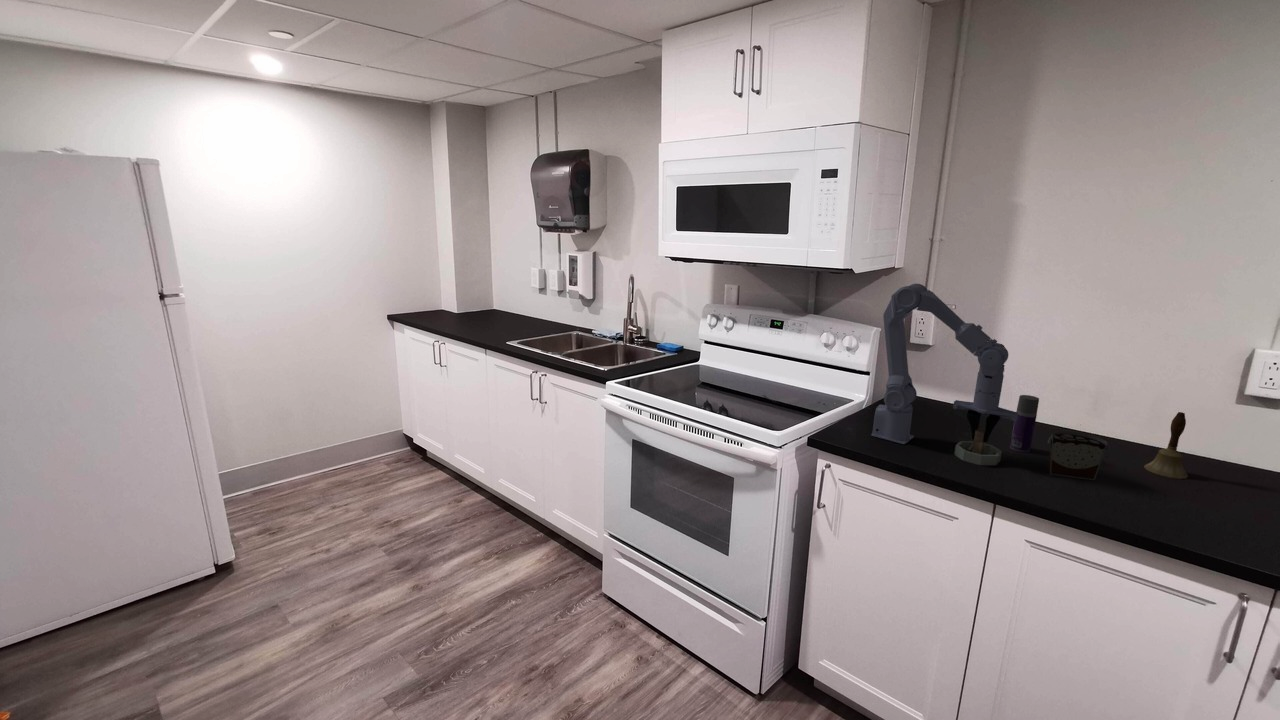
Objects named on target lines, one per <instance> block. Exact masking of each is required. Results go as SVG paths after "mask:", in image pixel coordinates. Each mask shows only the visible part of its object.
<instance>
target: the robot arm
mask: <svg viewBox="0 0 1280 720" xmlns="http://www.w3.org/2000/svg"><path fill="white" fill-rule="evenodd" d="M915 309H916V311H917V312H918V311H919V312H927V313H931V314H932V315H933V316H934V317H936V318H937V319H938V320H939V321H941V322H942V323H943V324H944V325H946V327H948V328H949V329H951V330H952V331H953V332H954V337H955V340H956V341H957V342H958V343H960V345H962V346H963V347H964V348H965V349H967V350H968V351H969V352H970V353H971V354H972V355H973V356H974V357H977V362H978V364H979V368H978V369H979V370H978V372H977V377H976V378H977V379H976V383H975V389H974V396H973V400H972V401H965V400H959V399H958V400H957V399H955V400H954V401H953V406H952V409H954V410H958V409H959V410H962V411H967V412H966V418H967V421H968V423H969V425H970V430H971V440H972V441H974V437H975V431H976V430H977V429H978V428H979V426H980V420H981V416H982V415H987V417H986V418H985V428H984V429H985V434H984V440H983V442H986V443H987V442H988V441H989V438H990V436H991V434H992V431H993V430H994V428H995V426H997V424H998V423H999V421H1000V420H1001V419H1006V420H1010V421H1012V422H1015V421H1016V420H1017V419H1018V412H1016V411H1013V410H1010V409H1006V408H1002V407H999V405H1000V400H1001V394H1002V388H1003V381H1004V378H1005V376H1004V375H1005V374H1004V373H1005V363H1006V362H1007V360H1008V359H1009V351H1008V349H1007V348H1006V347H1005V345H1004V344H1002V343H999V342H998V340H997V339H995V338H994V339H993V338H991V336H989V335H988V334H987V333H985V332H984V331H983V326H982V325H980V324H977V325H976V324H975V323H974V322H965V321H964V320H963V319H962V318H961V317H959V316H958V315H957V313H956V312H954V311H953V309H951V308H950V307H949V306H948V305H947V304H946V303H945V302H944V301H942V299H940V298H939V296H937V295H936V294H935V292H933V291H931V290H930V289H928V288H927V287H926V286H925V285H923V284H921V283H912V284H910V285H905V286H901V287H899V288H898V289H897V290H896V291H895V292H894V293H893V294H892V295H891V296H890V300H889V303H888V304H887V307H886V308H885V310H884V311H883V329H884V339H885V351H886V359H887V370H888V371H887V372H888V377H887V378H888V379H887V380H886V381H887V382H886V384H885V387H886V390H885V393H884V397H883V402H884V404H879V405H878V406H877V407H876V408H875V412H874V419H873V426H872V433H871V436H872V437H875V438H879V439H881V440H882V439H883V440H886V441H889V442H895V443H898V444H900V445H901V444H902V445H906V444H907V443H908V442H909V441H911V440H912V439H913V438H914V437H915V435H914V434H910V432H911V426H912V417H913V410H914V407H913V405H912V403H913V402H914V401H915V400H916V399H917V395H918V394H917V389H916V388H915V386H914V384H913V380H912V379H913V378H912V377H911V376H910V374H909V365H908V364H909V363H908V352H907V340H906V331H905V330H906V329H905V321H904V320H905V319H906V317H908V315H910V314H911V312H912V311H914V310H915Z"/></svg>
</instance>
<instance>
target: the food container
mask: <svg viewBox="0 0 1280 720" xmlns="http://www.w3.org/2000/svg"><path fill="white" fill-rule="evenodd" d="M1047 444H1049V445H1050V450H1049V451H1050V452H1049V465H1048V474H1049V475H1053V476H1059V477H1068V478H1075V479H1084V480H1091V481H1095V480H1096V478H1097V474H1098V472H1099V469H1100V467H1101V463H1102V461H1103V459H1104V455H1105V452H1106V451H1107V452H1108V451H1109V450H1110V449H1109V444H1108V441H1107V440H1104V439H1102V438H1101V437H1098V436H1095V435H1091V434H1087V433H1082V432H1078V431H1069V430H1066V431H1065V430H1061V431H1060V430H1059V431H1054V432H1052V433H1051V434H1050V436H1049V438H1048V439H1047Z"/></svg>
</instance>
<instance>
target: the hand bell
mask: <svg viewBox="0 0 1280 720" xmlns="http://www.w3.org/2000/svg"><path fill="white" fill-rule="evenodd" d="M1186 424H1187V420H1186V413H1185V412H1183V411H1182V412H1180V411H1178V412H1177V413H1176V415H1175V416H1174V417H1173V419H1172V420H1171V424H1170V438H1169V441H1168V445H1167V447H1166V448H1161V449H1159V450H1158V452H1157V454H1156V456H1155V458H1154V459H1153V460H1151V462H1149V463H1146V464H1145V465H1144V469H1145V470H1147V471H1148V472H1149V473H1151V474H1154V475H1157V476H1161V477H1162V478H1164V477H1165V478H1169V479H1174V480H1185V479H1188V477H1189V476H1188V473H1187V472H1186V471H1185V470H1184V467H1183V457H1184V456H1183V454H1182V453H1181V452H1179V451H1177V450H1178V449H1177V448H1178V445H1179V440H1180V437H1181V435H1182V434H1183V433H1184V430H1185V428H1186Z"/></svg>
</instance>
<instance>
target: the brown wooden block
mask: <svg viewBox="0 0 1280 720" xmlns="http://www.w3.org/2000/svg"><path fill="white" fill-rule="evenodd" d="M985 429H986V428H985V427H984V428H983V427H978V429H977V430H976V431H975V437H974V440H973V441H974V443H973V449H972V453H976V454H980V455H981V453H982V452H983V451H984V450H985V444H987V442H983V440H984V434H985Z"/></svg>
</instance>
